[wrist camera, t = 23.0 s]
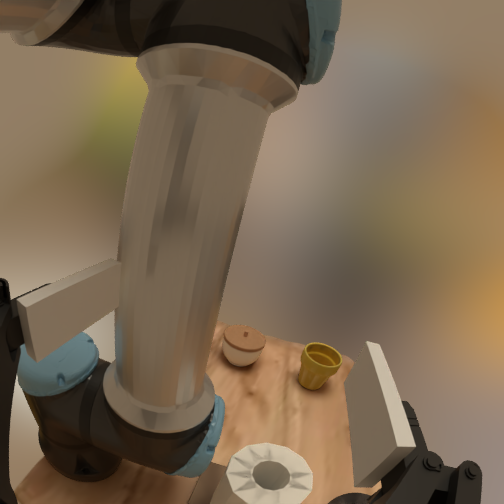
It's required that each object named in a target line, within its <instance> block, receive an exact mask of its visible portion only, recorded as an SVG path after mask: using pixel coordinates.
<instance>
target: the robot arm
mask: <svg viewBox="0 0 504 504" xmlns="http://www.w3.org/2000/svg"><path fill="white" fill-rule="evenodd" d="M341 5H342V0H0V33H10V35H11V38H12V39H13V41H14V42H15V43H17V44H19V45H23V46H48V47H58V48H67V49H75V50H81V51H87V52H93V53H100V54H107V55H114V56H122V57H138V59H137V62H136V66H137V69H138V70H139V72H140V73H141V75H142V77H143V78H144V80H145V81H146V83H147V85H148V89H149V93H148V96H147V99H146V103H145V106H144V110H143V113H142V117H141V121H140V124H139V128H138V132H137V136H136V141H135V145H134V149H133V154H132V159H131V163H130V169H129V173H128V179H127V184H126V191H125V196H124V203H123V210H122V217H121V225H120V233H119V244H118V254H117V261H116V260H114V259H108V260H106V261H103V262H101V263H98V264H96V265H94V266H91V267H89V268H86V269H84V270H82V271H79V272H77V273H74V274H72V275H70V276H67V277H65V278H63V279H60V280H58V281H56V282H54V283H49V284H45V285H43V286H41V287H39V288H36V289H34V290H32V291H29V292H27V293H25V294H23V295H21V296H18V297H16V298H14V299H12V300H11V298H10V292H9V284H8V282H7V280H5V279H2V278H0V504H18V502H17V499H16V496H15V493H14V491H13V489H12V487H11V484H10V478H9V431H10V417H11V408H12V399H13V393H14V386H15V380H16V375H18V382H19V385H20V386H21V388H22V390H23V392H24V395H25V397H26V400H27V402H28V405H29V407H30V409H31V411H32V414H33V416H34V418H35V420H36V422H37V424H38V426H39V433H38V436H39V443H40V447H41V449H42V452H43V453H44V455H45V457H46V458H47V460H48V461H49V463H50V464H51V465H52V466H53V467H54V468H55V469H56V470H57V471H58V472H60V473H61V474H63V475H64V476H66V477H68V478H71V479H74V480H77V481H82V482H94V481H99V480H102V479H105V478H107V477H109V476H110V475H112V474H113V473H114V472H115V471H116V470H117V468H118V467H119V465H120V463H121V460H122V458H123V459H126V460H129V461H131V462H134V463H137V464H140V465H143V466H146V467H149V468H152V469H156V470H159V471H162V472H164V473H166V474H168V475H179V476H184V477H189V478H193V477H197V476H200V475H201V474H202V473H203V472H204V471H205V470H206V469H207V468H208V466H209V464H210V462H211V460H212V458H213V456H214V452H215V447H216V446H217V444H218V442H219V439H220V435H221V431H222V427H223V422H224V414H225V403H224V401H223V399H222V398H221V397H220V396H217V395H216V394H215V391H214V386H213V384H212V381H211V379H210V378H209V376H208V375H207V374H206V372H205V371H206V367H207V362H208V358H209V353H210V349H211V344H212V340H213V336H214V331H215V327H216V323H217V318H218V314H219V309H220V305H221V301H222V297H223V292H224V288H225V284H226V280H227V275H228V272H229V267H230V263H231V259H232V255H233V251H234V247H235V243H236V239H237V235H238V231H239V227H240V223H241V219H242V215H243V211H244V207H245V203H246V199H247V195H248V191H249V188H250V183H251V180H252V176H253V172H254V168H255V165H256V161H257V157H258V153H259V150H260V146H261V142H262V138H263V135H264V130H265V127H266V124H267V120H268V117H269V116H270V115H271V113H273V112H275V111H277V110H279V109H281V108H283V107H285V106H287V105H289V104H291V103H292V102H294V101H295V100H296V98H297V94H298V90H299V87H300V84H302V85H308V84H316V83H318V82H319V81H320V80H321V79H322V78H323V76H324V74H325V72H326V70H327V68H328V65H329V62H330V60H331V57H332V54H333V50H334V43H335V34H336V32H337V31H338V27H339V23H340V16H341ZM113 310H115V356H116V359H115V360H114V361H113V362H112V363H110V362H107V361H105V360H102V359H100V358H99V351H98V348H97V347H96V345H95V344H94V342H93V340H92V338H91V337H90V336H88V335H87V334H85V333H84V332H82V331H84V330H85V329H86V328H88V327H89V326H91V325H92V324H94V323H95V322H97V321H98V320H100V319H101V318H103V317H104V316H105V315H107V314H109V313H110V312H112V311H113ZM344 387H345V394H346V402H347V410H348V418H349V428H350V437H351V448H352V461H353V475H354V487H373V486H374V485H375V484H377V483H378V482H379V481H380V480H381V485H382V488H381V489H379V490H378V491H377V492H375V493H374V494H373V495H372V496H370V497H369V498H368V499H366V500H367V501H368V502H367V504H480V502H481V489H482V472H481V469H480V467H479V466H478V465H477V464H476V463H475V462H473V461H468V460H467V461H464V462H463V463H462V464H461V465H460V466H458V467H457V468H453V467H448V466H444V464H443V461H442V459H441V458H440V457H439V456H438V455H437V454H436V453H434V452H431V451H428V449H427V446H426V443H425V440H424V437H423V434H422V431H421V429H420V427H419V423H418V420H417V417H416V414H415V412H414V409H413V408H412V407H411V406H410V404H409V403H408V402H407V401H401V399H400V396H399V394H398V391H397V388H396V385H395V383H394V380H393V377H392V375H391V372H390V370H389V368H388V364H387V362H386V359H385V357H384V354H383V352H382V349H381V347H380V345H379V344H376V343H371V342H367V341H366V343H365V345H364V347H363V349H362V350H361V352H360V354H359V356H358V358H357V360H356V362H355V364H354V366H353V368H352V369H351V371H350V373H349V375H348V377H347V378H346V380H345V382H344Z"/></svg>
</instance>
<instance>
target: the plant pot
mask: <svg viewBox="0 0 504 504" xmlns="http://www.w3.org/2000/svg"><path fill="white" fill-rule="evenodd" d="M341 364H342V357H341V355H340V354H339V352H337V351H336V350H335V349H334V348H332V347H330V346H328V345H326V344H322V343H309V344H308V345H306V346H305V348H304V350H303V352H302V355H301V368H300V372H299V377H298V380H299V383H300V384H301V385H302V386H303V387H305V388H307V389H310V390H317V389H319V388H320V387H321V386H322V385H323V384H324V383H325V382H326V381H327V380H328V378H329V377H330V376H332V375H334V374H335V373H336V372H337V371H338V369H339V367H340V366H341Z"/></svg>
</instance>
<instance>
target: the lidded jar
mask: <svg viewBox="0 0 504 504" xmlns="http://www.w3.org/2000/svg"><path fill="white" fill-rule="evenodd" d="M265 343H266V340H265V337H264V336H263V335H262V334H261V333H260V332H259V331H257V330H255V329H253V328H251V327H248V326H244V325H233V326H229V327H228V328H226V329H225V331H224V337H223V343H222V349H223V353H224V355H225V357H226V358H227V359H228V361H229V362H230V363H231V364H233V365H235V366H239V367H244V366H247V365H249V364H252V363H253V362H255V361H256V360H257V359H258V358H259V356H260V355H261V353H262V350H263V348H264V346H265Z"/></svg>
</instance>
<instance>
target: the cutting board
mask: <svg viewBox="0 0 504 504" xmlns="http://www.w3.org/2000/svg"><path fill="white" fill-rule="evenodd" d="M225 470H226V467H225V466H222V465H219V464H216V463H213V462H210V464H209V466H208V468H207V469H206V470H205V471H204V472H203V473H202V474H201V475H200V477H199V480H198V482H197V484H196V487H195V489H194V491H193V494H192V496H191V498H190V500H189V503H188V504H210V502H211V499H212V496H213V494H214V492H215V490H216V488H217V486H218V484H219V482H220V480H221V478H222V476H223V474H224V472H225Z"/></svg>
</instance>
